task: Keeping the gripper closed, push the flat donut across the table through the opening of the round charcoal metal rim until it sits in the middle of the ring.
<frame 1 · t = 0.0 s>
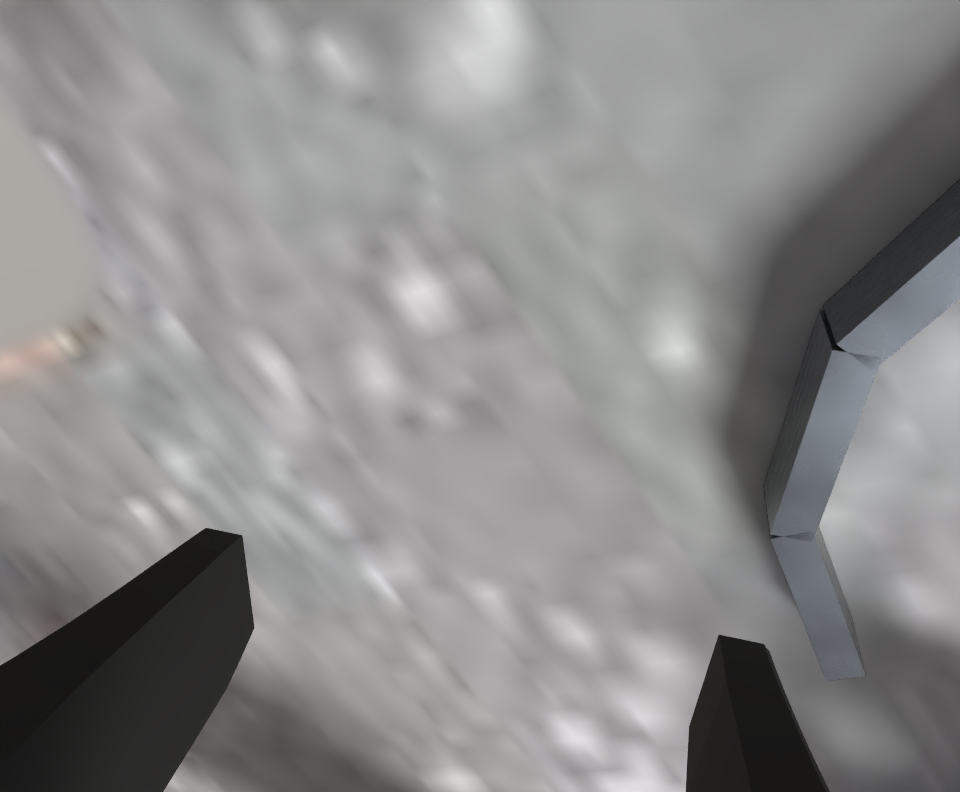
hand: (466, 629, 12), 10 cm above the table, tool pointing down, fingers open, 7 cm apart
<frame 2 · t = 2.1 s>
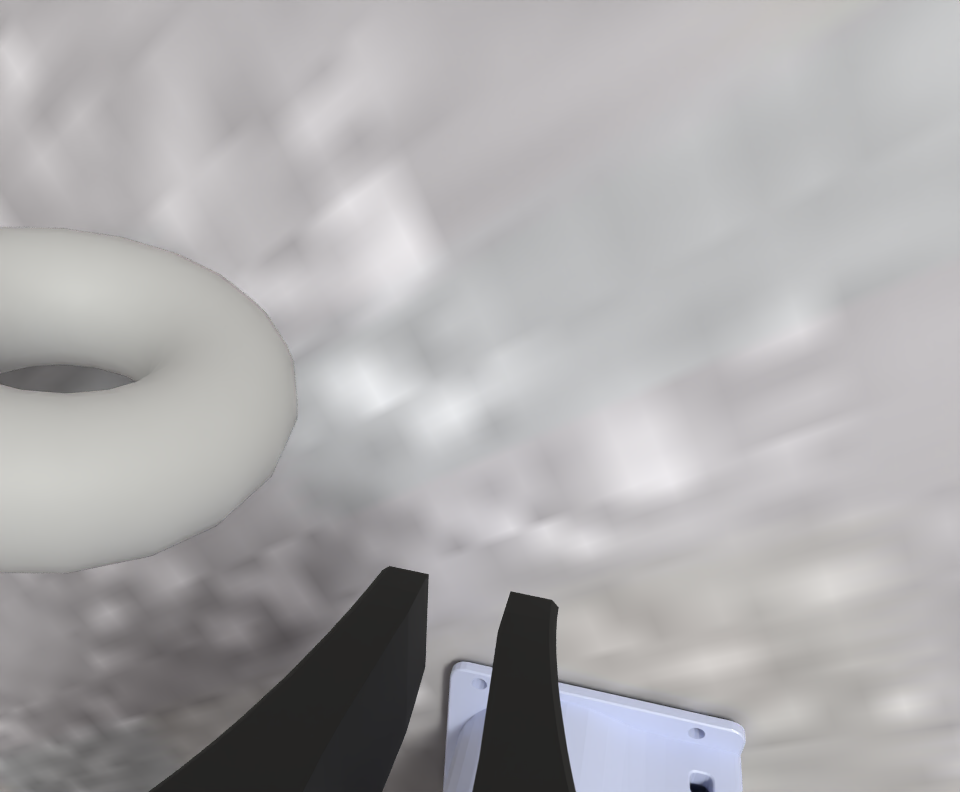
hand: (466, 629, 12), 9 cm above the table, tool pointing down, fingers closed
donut: (189, 283, 21), on the table
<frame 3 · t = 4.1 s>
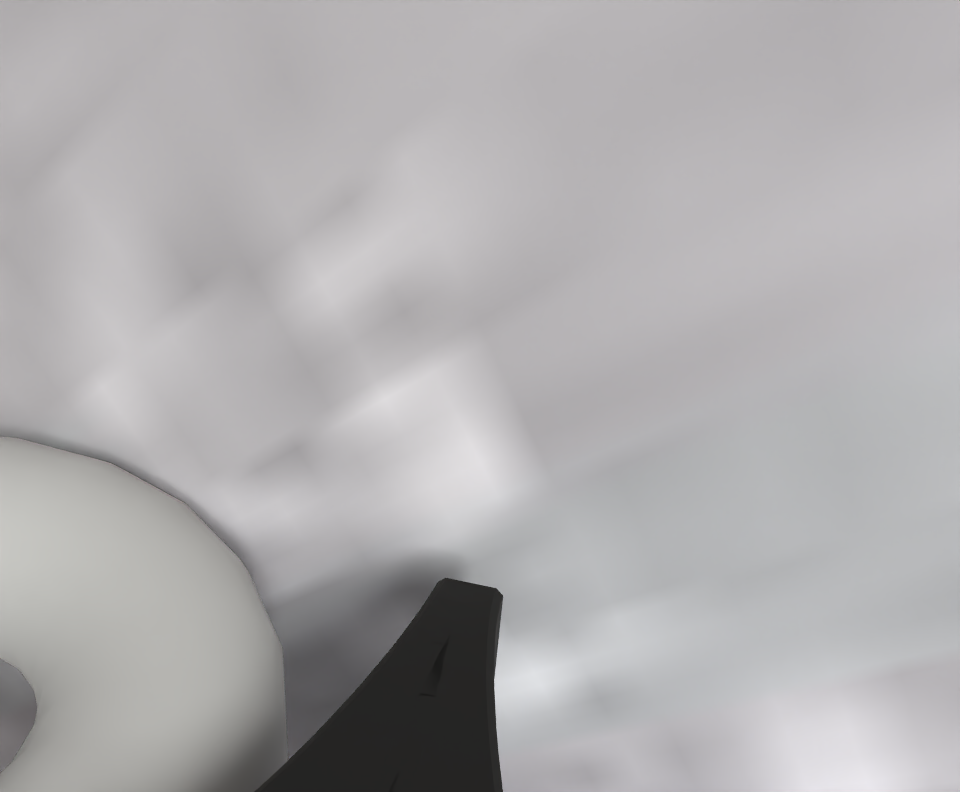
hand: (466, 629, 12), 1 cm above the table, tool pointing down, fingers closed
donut: (128, 484, 14), on the table, touching gripper
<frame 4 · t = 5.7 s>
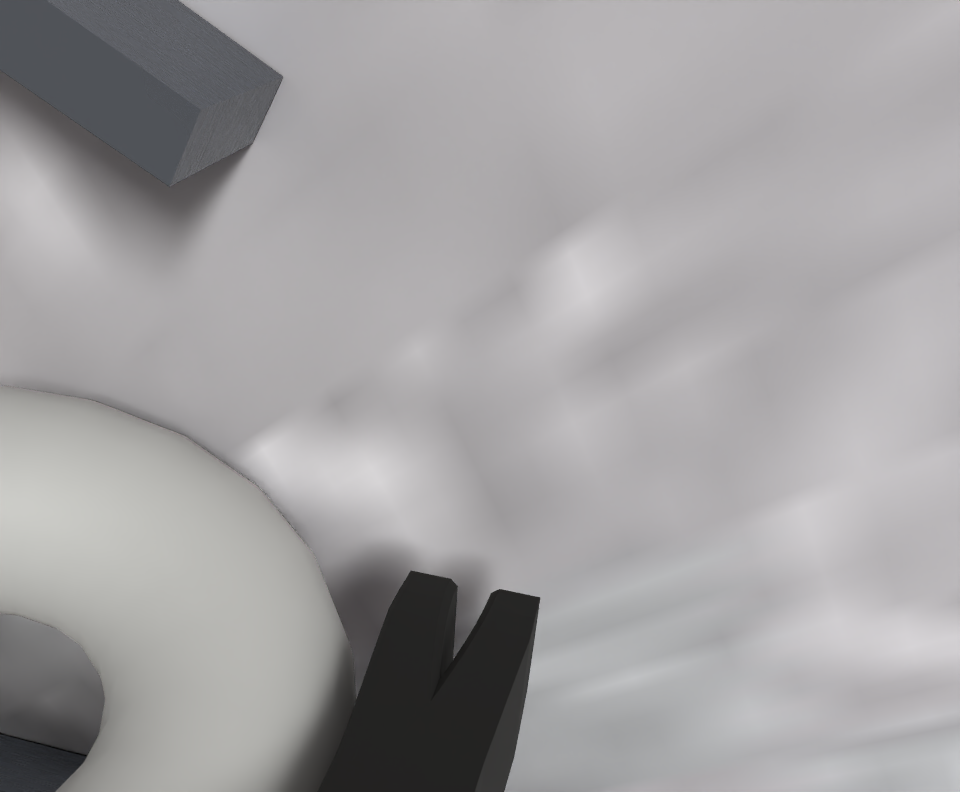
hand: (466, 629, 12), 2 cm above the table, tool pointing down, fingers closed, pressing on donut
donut: (193, 454, 14), on the table, touching gripper
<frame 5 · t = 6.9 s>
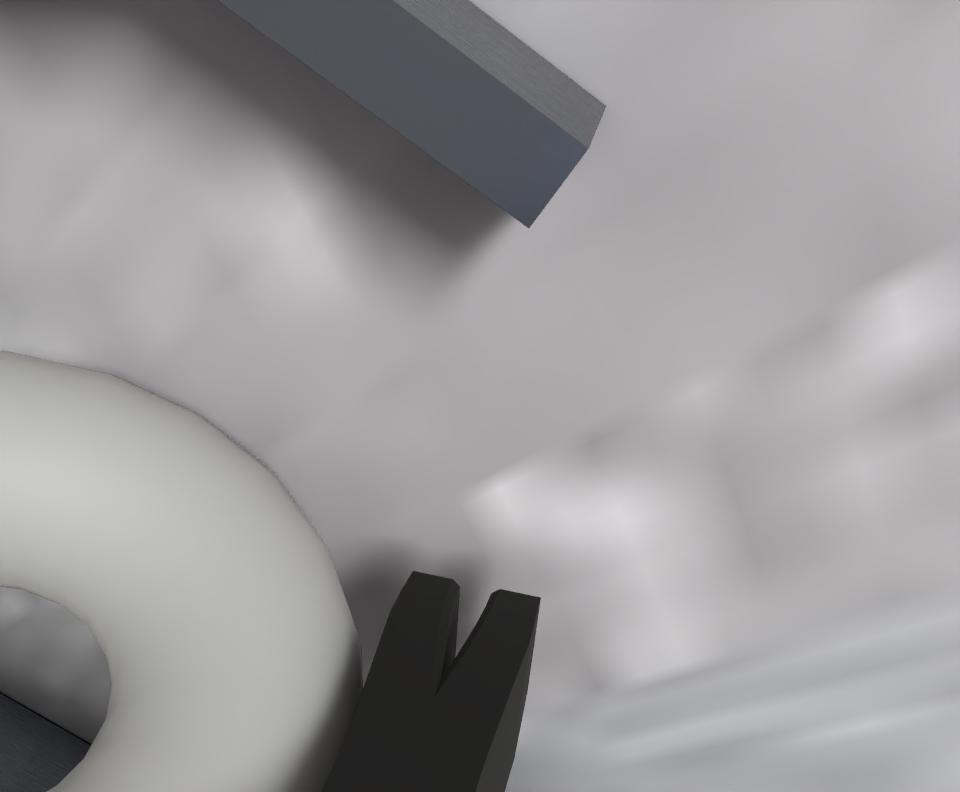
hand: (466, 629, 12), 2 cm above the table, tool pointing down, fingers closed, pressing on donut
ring: (145, 488, 14), on the table
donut: (206, 433, 13), on the table, touching gripper
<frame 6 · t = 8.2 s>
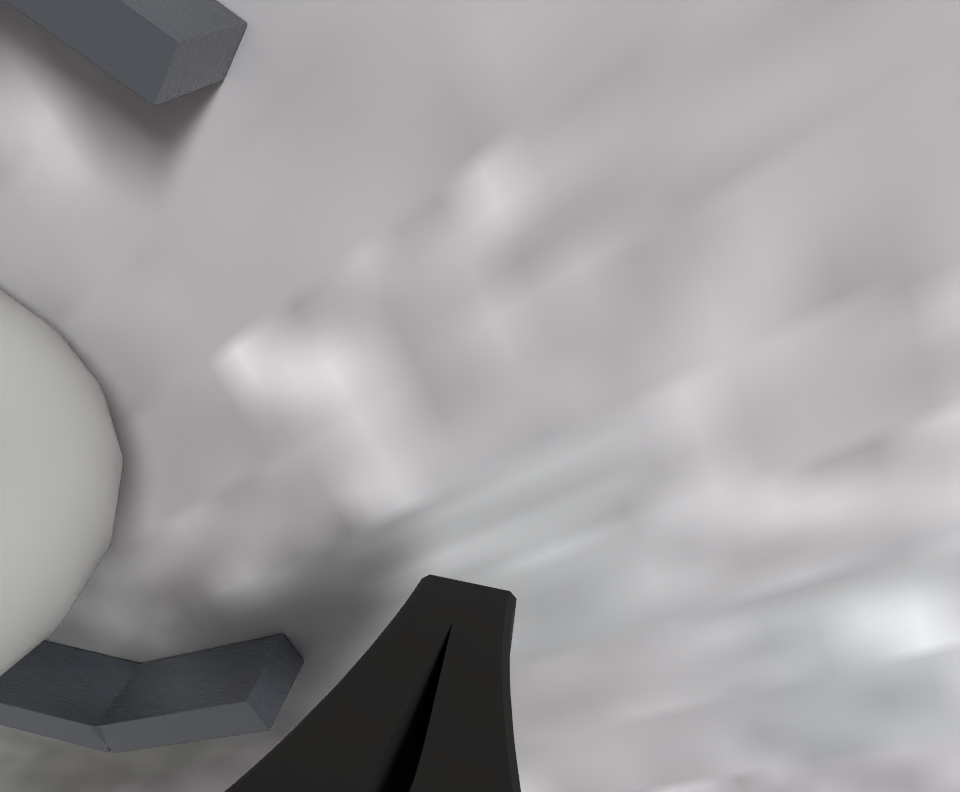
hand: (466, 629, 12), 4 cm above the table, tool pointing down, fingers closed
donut: (11, 313, 16), on the table
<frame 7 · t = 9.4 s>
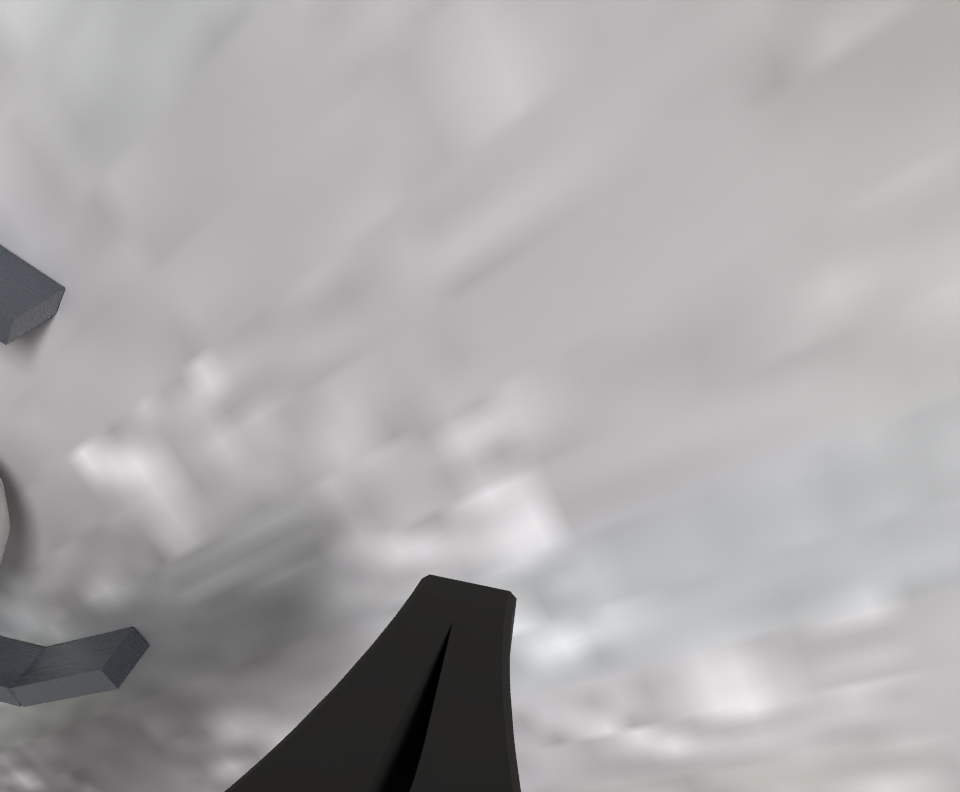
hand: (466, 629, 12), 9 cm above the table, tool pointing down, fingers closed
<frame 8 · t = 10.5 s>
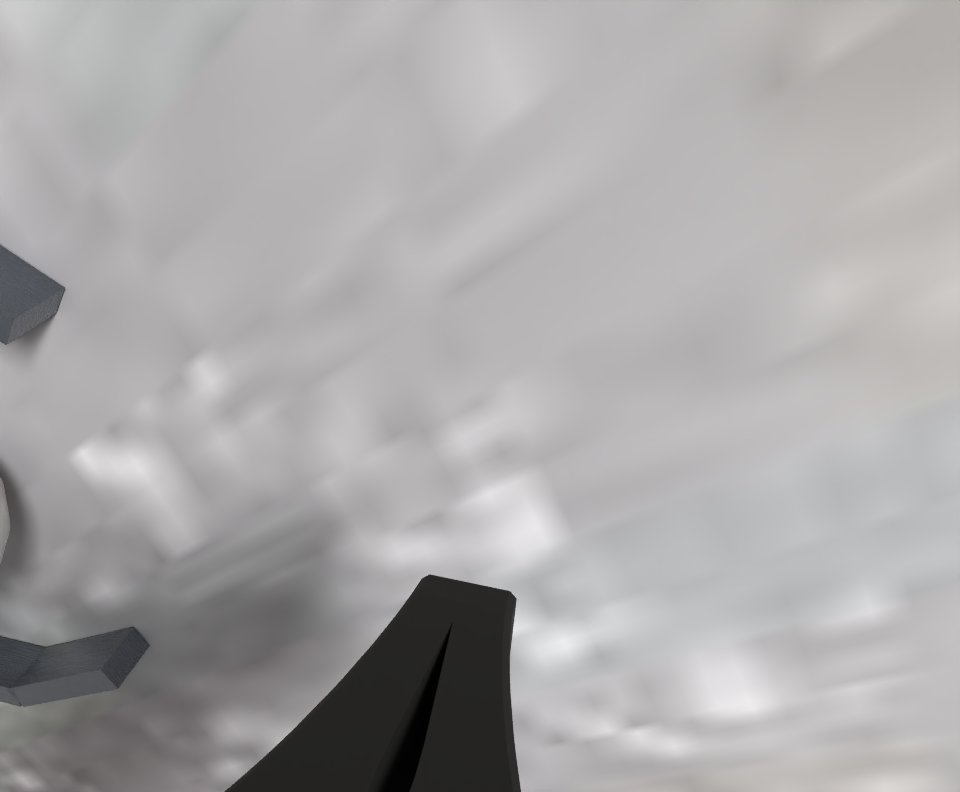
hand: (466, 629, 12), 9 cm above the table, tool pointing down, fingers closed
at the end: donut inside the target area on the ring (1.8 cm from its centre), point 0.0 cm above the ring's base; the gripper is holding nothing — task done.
